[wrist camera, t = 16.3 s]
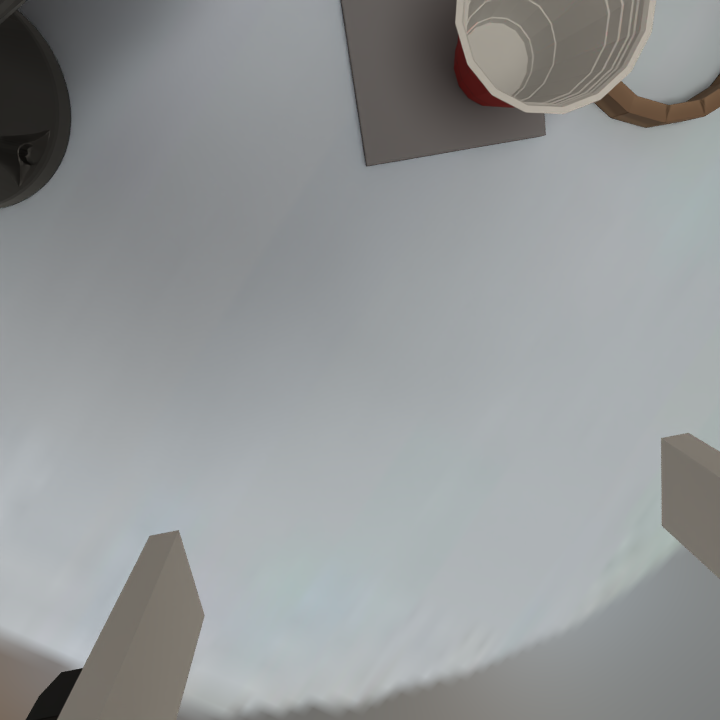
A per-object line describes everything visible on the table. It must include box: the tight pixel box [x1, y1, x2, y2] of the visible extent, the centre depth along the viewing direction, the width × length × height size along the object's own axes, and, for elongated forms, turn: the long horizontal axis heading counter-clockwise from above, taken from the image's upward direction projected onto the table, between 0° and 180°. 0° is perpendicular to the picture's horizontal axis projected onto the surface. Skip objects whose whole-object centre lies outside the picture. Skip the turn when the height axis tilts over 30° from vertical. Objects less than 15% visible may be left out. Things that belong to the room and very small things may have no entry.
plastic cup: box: [454, 0, 656, 114], centre depth 34 cm, size 11×11×12 cm
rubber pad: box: [341, 0, 546, 166], centre depth 40 cm, size 14×14×1 cm
